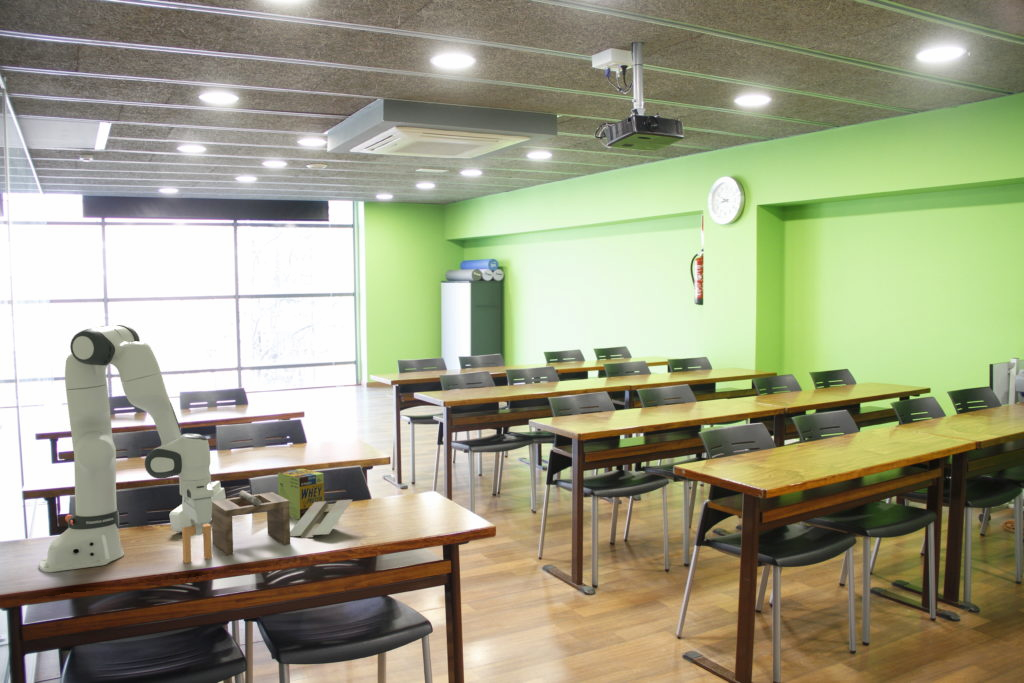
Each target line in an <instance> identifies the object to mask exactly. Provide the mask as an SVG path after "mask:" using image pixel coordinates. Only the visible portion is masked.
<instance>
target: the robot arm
mask: <svg viewBox="0 0 1024 683" xmlns="http://www.w3.org/2000/svg"><path fill="white" fill-rule="evenodd" d="M69 345H70V348H69V349H70V352H71V353H70V354H69V355H68V356H67V358H66V359H65V367H64V368H65V370H64V382H65V383H64V384H65V393H66V400H67V407H68V408H67V409H68V418H69V423H70V424H69V426H70V432H71V441H72V449H73V459H74V497H75V498H74V499H75V514H73V515H72V514H66V516H65V518H64V520H65V522H66V523H67V525H68V528H67V529H66V530H64V532H62V533H61V534H60V535H59V536H57V537H55V539H54V540H52V541H51V543H50V545H49V547H48V550H47V556H46V557H44V558H42V559H41V560H40V561H39V564H38V567H39V570H40V571H42V572H45V573H53V572H54V573H55V572H61V571H62V572H63V571H68V570H69V571H70V570H77V569H85V568H92V567H99V566H105V565H108V564H109V563H111V562H113V561H116V560H118V559H121V558H122V557H123V556H124V555H125V552H124V550H123V546H122V543H121V539H120V533H119V526H120V514H119V510H118V507H117V485H116V484H117V449H116V448H117V447H116V445H115V443H114V439H113V438H114V437H113V431H112V430H113V429H112V420H111V419H112V418H111V406H110V398H109V397H110V396H109V388H108V383H107V382H108V381H107V375H106V374H107V368H108V366H109V364H110V365H112V366H113V367H115V369H116V370H117V372H118V374H119V378H120V382H121V386H122V389H123V392H124V394H125V397H126V399H127V400H128V402H129V404H130V405H132V406H133V407H136V408H138V409H140V410H142V411H144V412H146V413H147V414H148V415H150V417H151V418H152V420H153V422H154V424H155V427H156V430H157V433H158V435H159V438H160V442H161V445H160V446H158V447H155V448H154V449H152V450H150V452H148V453H147V454H146V457H145V460H144V467H145V471H146V472H147V474H148V475H149V476H151V477H152V478H154V479H162V480H163V479H168V478H171V477H178V479H179V480H178V481H179V482H178V483H179V495H180V496H182V499H181V500H182V502H181V504H182V509H183V512H184V513H185V514H186V515H187V516H189V519H190V523H191V526H196V527H195V534H196V535H195V536H200V535H203V534H202V528H203V524H210V523H212V498H211V497H213V496H214V490H213V488H212V486H211V484H212V474H211V471H210V466H211V451H210V444H209V439H208V438H207V437H205V435H202V434H199V433H188V432H187V433H183V432H182V429H181V426H180V423H179V421H178V418H177V416H176V413H175V411H174V407H173V404H172V403H171V400H170V398H169V395H168V392H167V389H166V385H165V383H164V379H163V376H162V372H161V369H160V366H159V364H158V360H157V357H156V356H155V354H154V351H153V350H152V348H151V347H150V345H149V344H147V343H146V342H143V341H140V336H139V334H138V333H137V332H136V330H134V329H133V328H132V327H130V326H126V325H122V324H121V325H120V324H119V325H102V326H99V327H93V328H86V329H84V330H80V331H79V332H77V333H76V334H74V335H73V337H72V339H71V341H70V344H69Z"/></svg>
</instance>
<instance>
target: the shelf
mask: <svg viewBox="0 0 1024 683" xmlns="http://www.w3.org/2000/svg"><path fill="white" fill-rule="evenodd" d="M238 494H239V496H238V497H231V498H225V499H222V500H215V501H212V518H211V541H212V545H213V546H214V547H216V548H217V549H218V550H219V551H220V552H222V553H223V554H224V555H225V556H226V557H228V556H233V555H234V535H233V534H234V531H233V529H234V528H233V517H234V516H241V515H242V516H243V515H247V514H253V513H260V512H264V511H265V512H266V516H267V517H266V518H267V519H266V520H267V521H266V522H267V527H266V528H267V535H268V536H270V537H272V538H273V539H274V540H276V541H277V542H279V543H280V544H282V545H284V546H286V545H291V536H290V531H291V521H290V520H291V517H290V511H289V500H287V499H285V498H283V497H281V496H279V495H278V494H277V493H276V492H273V491H271V492H263V493H258V494H257V493H256V494H250V493H249V492H247V491H245V490H240V491H239V493H238ZM250 503H252V504H250ZM244 504H250V505H244ZM239 505H244V506H239Z"/></svg>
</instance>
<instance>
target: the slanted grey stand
mask: <svg viewBox="0 0 1024 683" xmlns="http://www.w3.org/2000/svg"><path fill="white" fill-rule="evenodd" d="M352 502H353V499H339V500H337V501H336V502H335V503H328V501H327V500H324V501H323V502H314V503H313V504H312V506H311V507H310V508H309V509H308V510H307V511H306V513H305V514H304V515H303V517H302V518H301V519H300V520H298V521H297V523H296V524H295V525H294V526H293V528H292V529H290V537H299V536H300V537H301V538H313V537H314V536H317V535H330V533H331V532H332V530H333V529H334V527H335V526H336V525H337V523H338V522H339V521H340V519H341V517H342V516H343V514H344V513H345V511H346V510H347V509H348V507H350V505H351V503H352Z"/></svg>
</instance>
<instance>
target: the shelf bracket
mask: <svg viewBox="0 0 1024 683" xmlns="http://www.w3.org/2000/svg"><path fill="white" fill-rule="evenodd" d="M211 486H212V488H213V490H214V496H213V497H211V498H212V501H215V500H222V499H227V497H226V491H225V490H226V489H225V487H222V486H221V480H215V481H213V483H212V482H211ZM169 522H170V527H171V531H172V532H179V533H182V528H184V527H190V526H191V523H190V519H189V516H187V515H186V514H185V513H184V512H183V509H182V503H181V504H180V505H179V506H177V507H176V508H174V509H173V510H172V511H170V513H169Z"/></svg>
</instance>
